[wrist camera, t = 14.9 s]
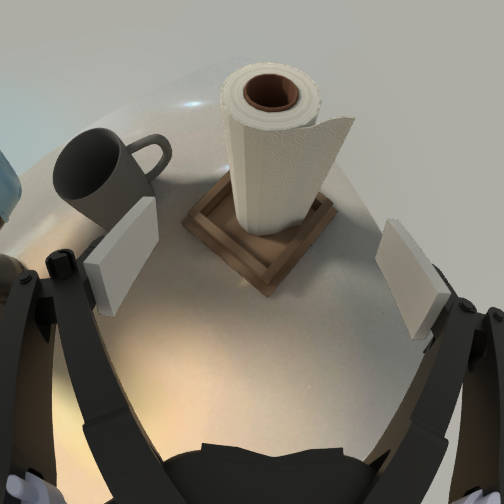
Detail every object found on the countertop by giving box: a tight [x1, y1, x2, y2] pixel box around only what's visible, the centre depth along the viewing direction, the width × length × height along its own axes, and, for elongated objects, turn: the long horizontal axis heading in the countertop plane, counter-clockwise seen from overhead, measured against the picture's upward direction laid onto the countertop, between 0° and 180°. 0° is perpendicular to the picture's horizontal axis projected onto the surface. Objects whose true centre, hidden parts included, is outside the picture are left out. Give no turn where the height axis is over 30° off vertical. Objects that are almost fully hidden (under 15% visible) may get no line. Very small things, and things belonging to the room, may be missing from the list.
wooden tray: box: [181, 170, 338, 297], centre depth 35 cm, size 14×14×4 cm
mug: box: [53, 128, 172, 231], centre depth 32 cm, size 14×9×12 cm
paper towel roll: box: [220, 63, 355, 236], centre depth 25 cm, size 7×6×21 cm
